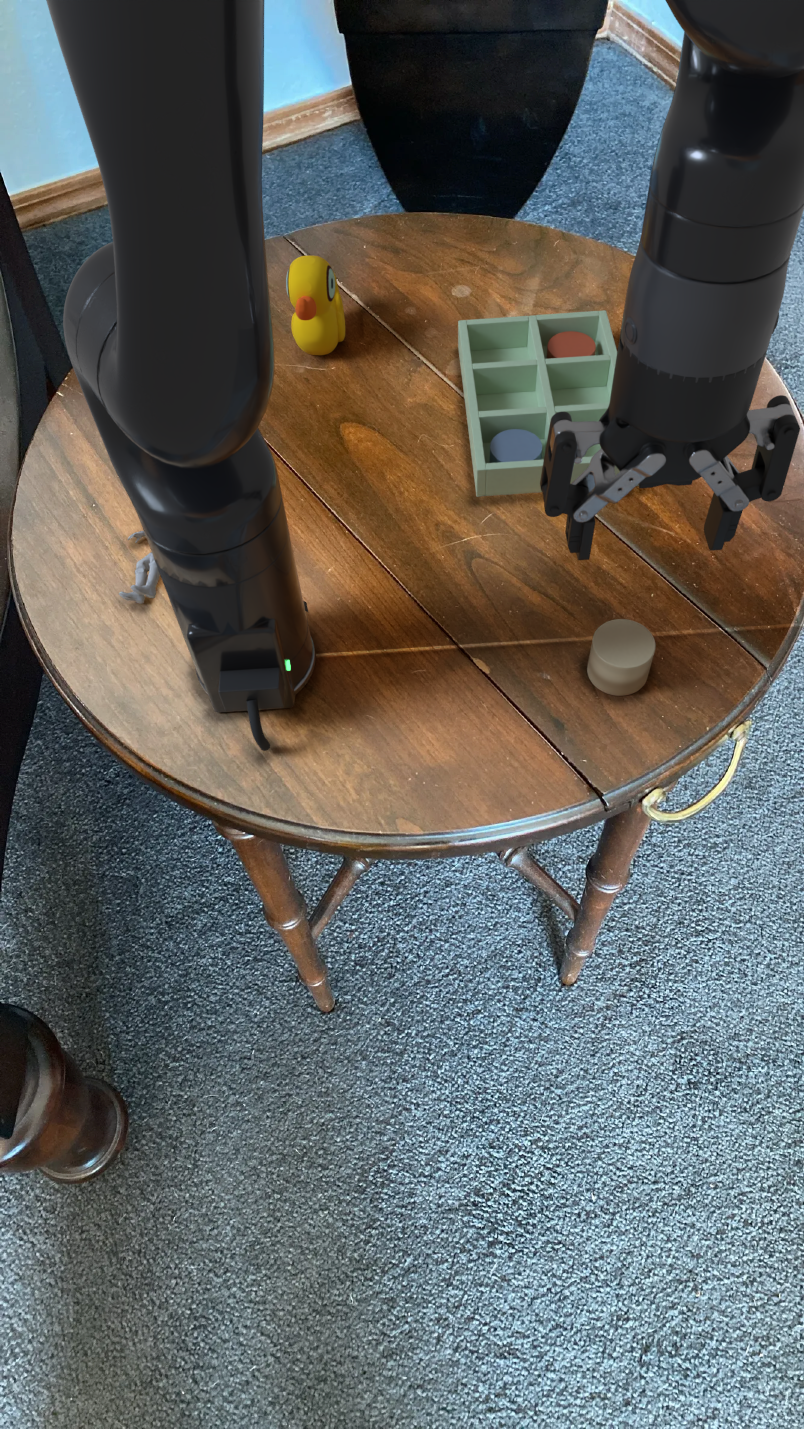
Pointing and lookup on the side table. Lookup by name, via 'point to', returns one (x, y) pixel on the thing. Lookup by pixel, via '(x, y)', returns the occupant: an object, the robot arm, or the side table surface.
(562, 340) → the terracotta token
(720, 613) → the side table surface
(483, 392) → the green rectangular divided tray
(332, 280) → the duckling
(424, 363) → the side table surface
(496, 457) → the slate token
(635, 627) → the cream token
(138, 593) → the soldier figure
